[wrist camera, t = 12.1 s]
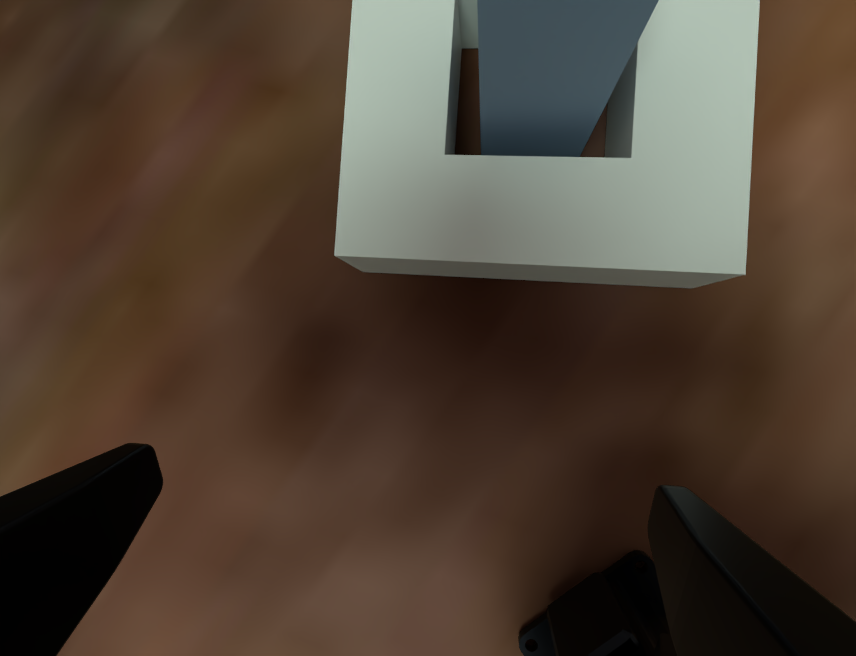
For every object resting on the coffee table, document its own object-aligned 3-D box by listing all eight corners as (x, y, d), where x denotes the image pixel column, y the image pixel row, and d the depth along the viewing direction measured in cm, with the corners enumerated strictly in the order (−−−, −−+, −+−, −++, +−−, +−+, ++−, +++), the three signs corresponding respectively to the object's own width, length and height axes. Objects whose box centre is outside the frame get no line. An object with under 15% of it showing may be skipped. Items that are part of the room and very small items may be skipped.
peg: (580, 74, 20) (716, -312, 8) (574, 166, 20) (704, -90, 8) (486, 74, 21) (488, -289, 9) (481, 164, 21) (475, -79, 9)
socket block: (710, -44, 20) (767, -141, 16) (692, 288, 19) (745, 274, 15) (384, -33, 21) (361, -118, 17) (362, 271, 21) (334, 255, 17)
